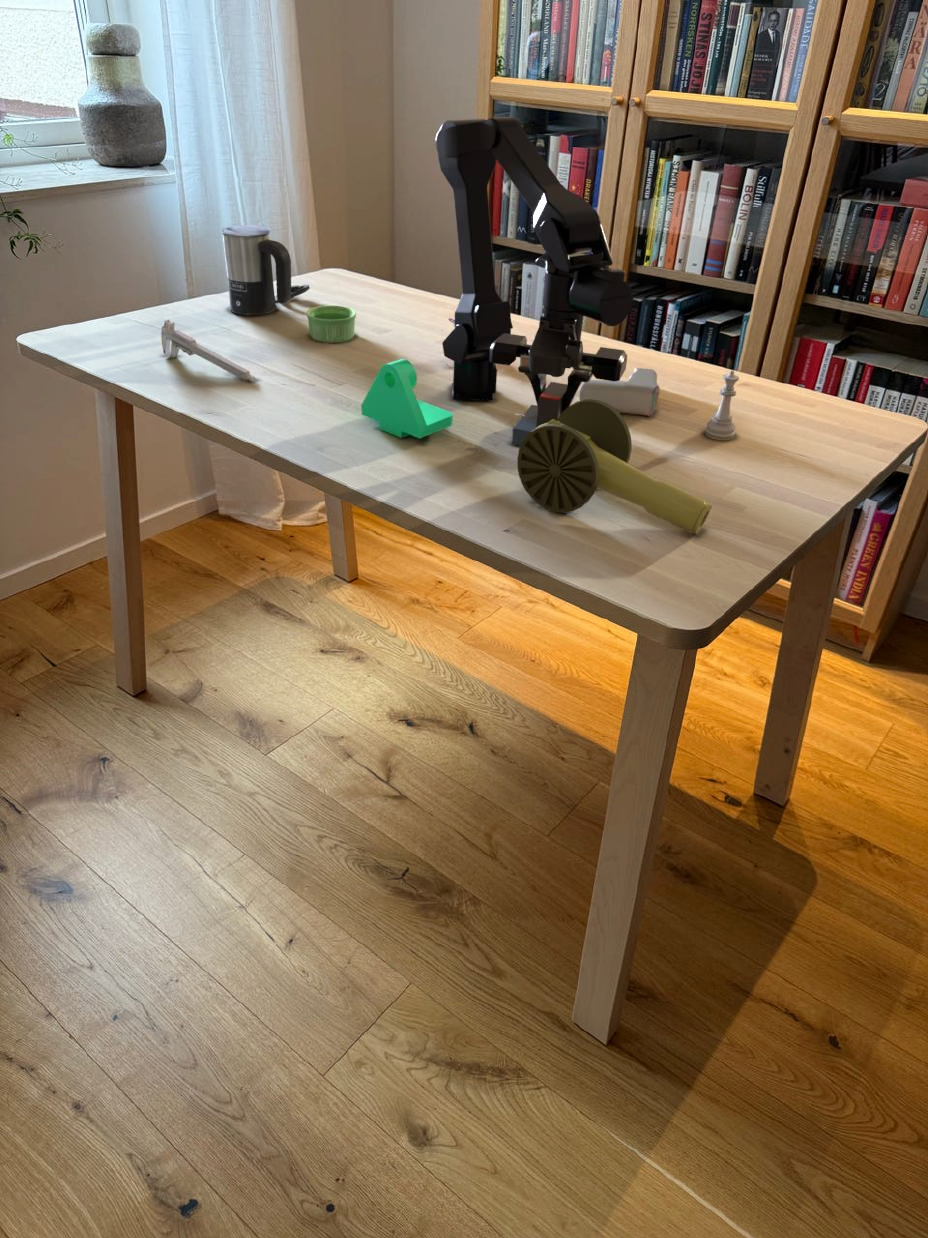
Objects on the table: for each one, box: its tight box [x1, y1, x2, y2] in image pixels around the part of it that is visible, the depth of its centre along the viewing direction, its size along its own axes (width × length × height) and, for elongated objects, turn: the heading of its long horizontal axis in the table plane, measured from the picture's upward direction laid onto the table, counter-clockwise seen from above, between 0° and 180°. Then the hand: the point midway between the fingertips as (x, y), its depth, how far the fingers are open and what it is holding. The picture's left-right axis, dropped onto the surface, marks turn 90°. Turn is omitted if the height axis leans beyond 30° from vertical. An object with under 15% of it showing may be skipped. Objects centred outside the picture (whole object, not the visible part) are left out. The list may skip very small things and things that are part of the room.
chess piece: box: [704, 370, 740, 441], centre depth 140 cm, size 4×4×10 cm
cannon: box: [516, 399, 713, 535], centre depth 118 cm, size 25×12×11 cm, turn 58°
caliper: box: [160, 319, 256, 382], centre depth 156 cm, size 20×1×6 cm, turn 57°
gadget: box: [536, 381, 568, 427], centre depth 137 cm, size 7×3×5 cm, turn 162°
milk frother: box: [220, 224, 311, 316], centre depth 184 cm, size 14×16×15 cm
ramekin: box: [306, 304, 357, 344], centre depth 173 cm, size 9×9×4 cm
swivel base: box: [511, 404, 538, 447], centre depth 139 cm, size 13×11×3 cm
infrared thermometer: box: [578, 367, 660, 416], centre depth 153 cm, size 5×12×15 cm
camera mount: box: [360, 358, 454, 439], centre depth 138 cm, size 12×8×10 cm, turn 48°
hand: (552, 414), depth 138 cm, fingers closed on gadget, 3 cm apart
